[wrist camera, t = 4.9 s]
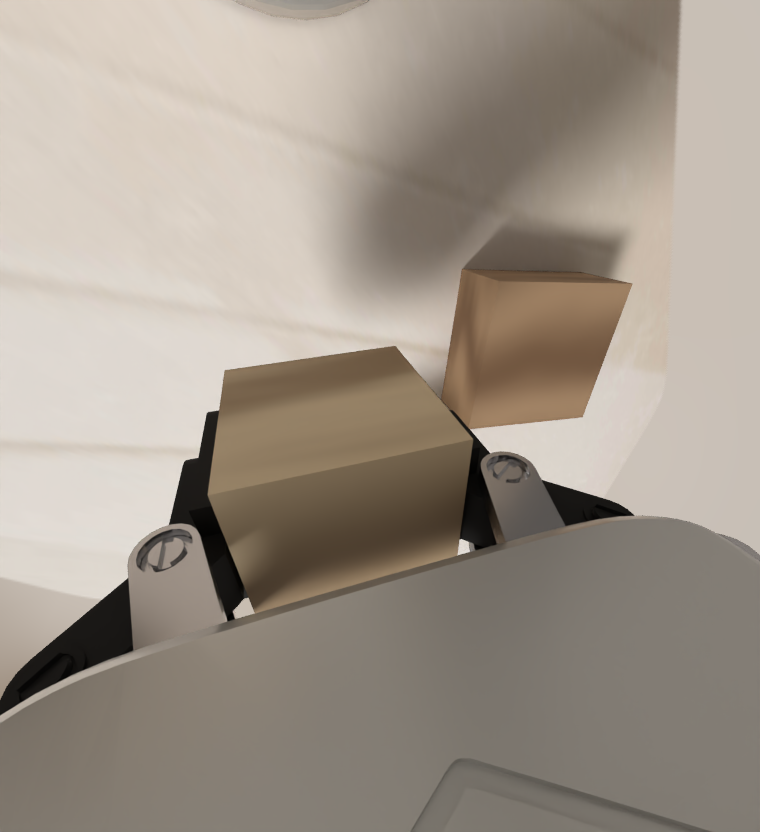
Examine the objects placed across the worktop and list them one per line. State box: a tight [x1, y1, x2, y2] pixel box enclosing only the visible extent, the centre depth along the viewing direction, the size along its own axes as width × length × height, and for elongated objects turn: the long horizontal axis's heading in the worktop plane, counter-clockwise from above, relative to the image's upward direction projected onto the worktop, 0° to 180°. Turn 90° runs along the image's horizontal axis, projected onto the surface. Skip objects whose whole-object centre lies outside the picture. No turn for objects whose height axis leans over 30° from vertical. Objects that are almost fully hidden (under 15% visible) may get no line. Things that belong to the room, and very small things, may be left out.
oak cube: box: [208, 346, 473, 613], centre depth 10 cm, size 5×5×5 cm
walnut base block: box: [441, 269, 632, 429], centre depth 22 cm, size 8×8×4 cm
